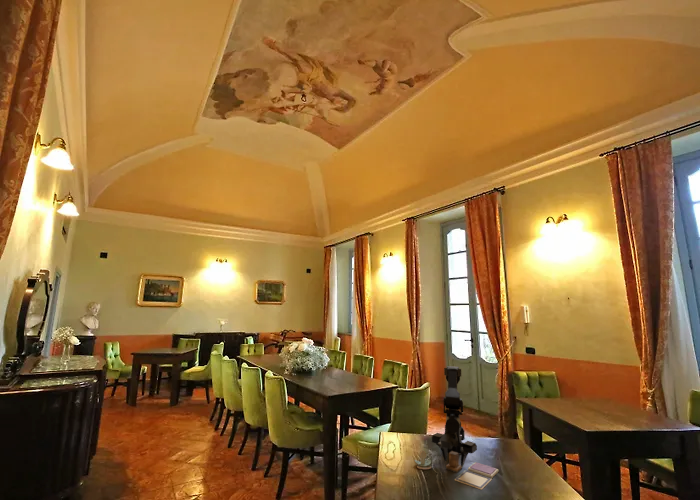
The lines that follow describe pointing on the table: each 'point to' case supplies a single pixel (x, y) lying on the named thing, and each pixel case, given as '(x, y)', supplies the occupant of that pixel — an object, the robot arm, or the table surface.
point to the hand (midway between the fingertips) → (453, 463)
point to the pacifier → (423, 461)
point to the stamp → (453, 462)
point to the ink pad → (483, 469)
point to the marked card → (473, 479)
